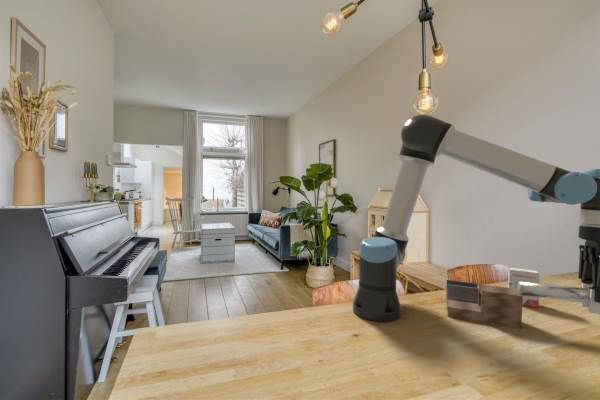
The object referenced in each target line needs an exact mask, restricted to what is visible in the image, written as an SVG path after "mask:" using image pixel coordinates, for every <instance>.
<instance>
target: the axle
mask: <svg viewBox="0 0 600 400" xmlns="http://www.w3.org/2000/svg"><path fill="white" fill-rule="evenodd" d="M518 291H519V293H520V294H521V295H523V296H531V297H539V299H541V298H542V299H550V300H556V301H557V300H559V301H567V302H575V303H581V302H582V303H589V299H590V289H589V288H582V287H577V286H568V285H558V284H548V283H540V282H539V283H531V282H521V281H519V282H518Z"/></svg>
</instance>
